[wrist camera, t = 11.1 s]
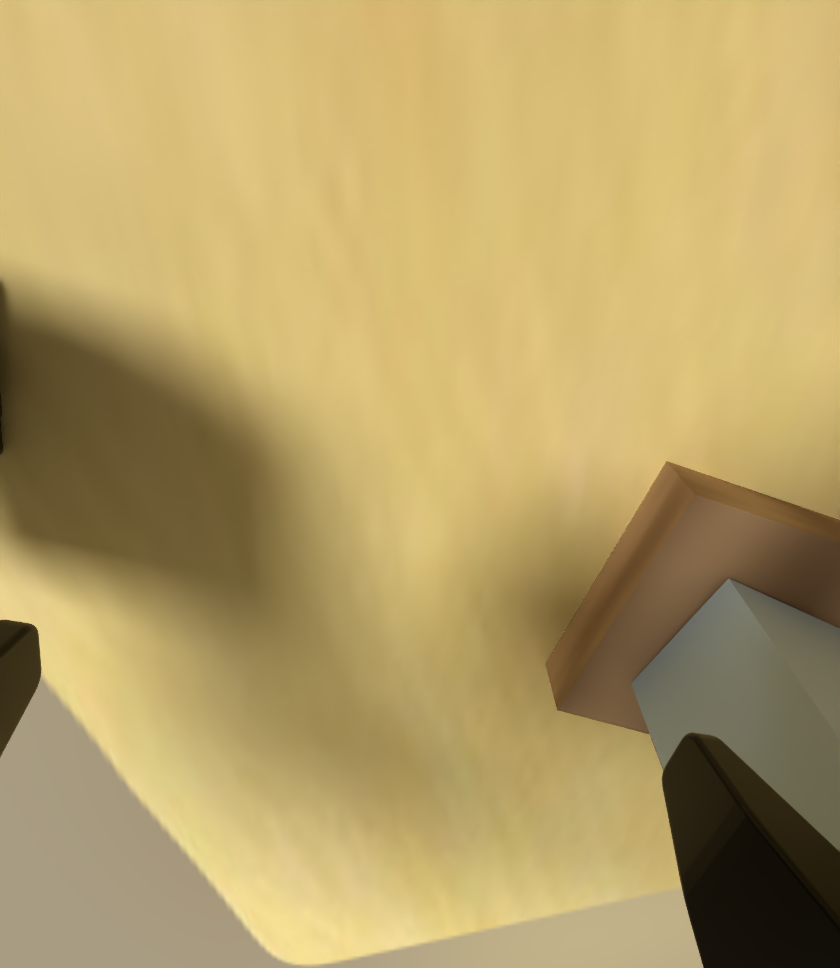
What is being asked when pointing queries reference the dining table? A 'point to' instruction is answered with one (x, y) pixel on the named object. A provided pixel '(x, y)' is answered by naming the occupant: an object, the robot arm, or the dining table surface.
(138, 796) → the dining table surface
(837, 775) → the slate block
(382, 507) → the dining table surface
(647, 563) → the walnut block
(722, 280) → the dining table surface
